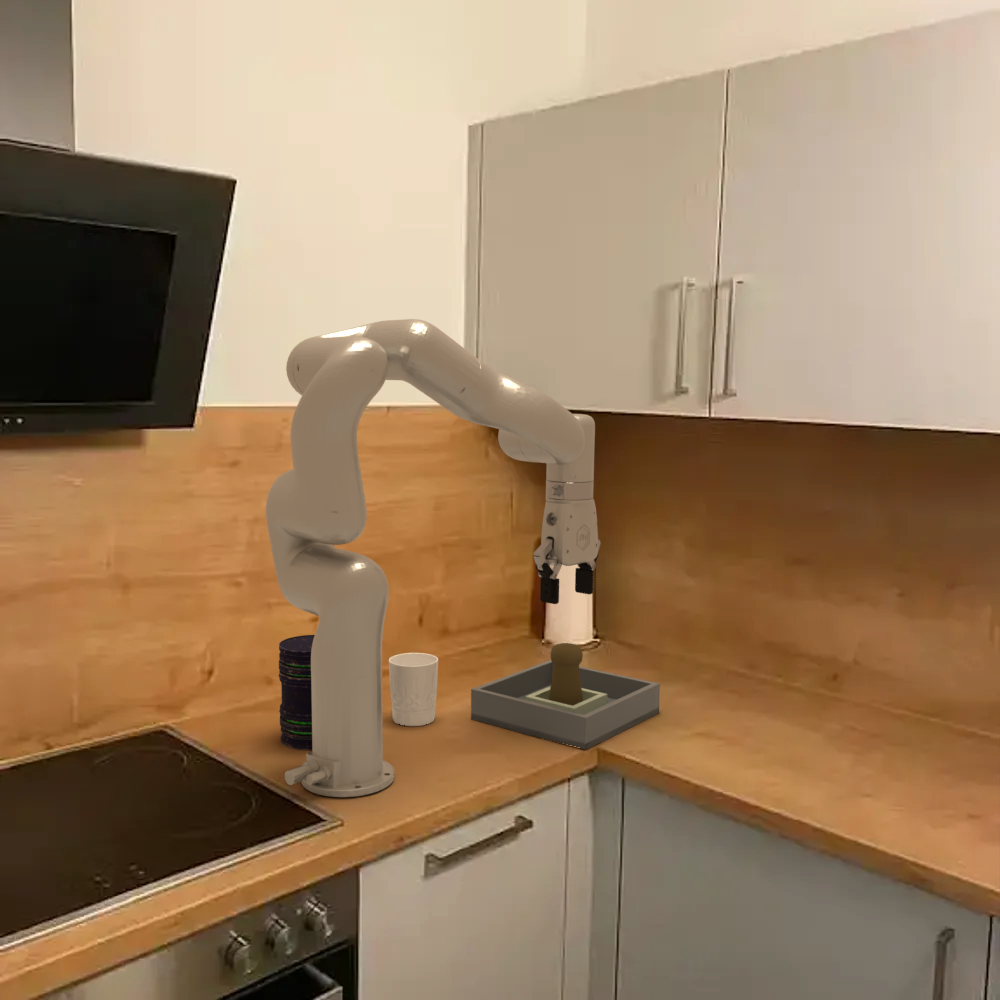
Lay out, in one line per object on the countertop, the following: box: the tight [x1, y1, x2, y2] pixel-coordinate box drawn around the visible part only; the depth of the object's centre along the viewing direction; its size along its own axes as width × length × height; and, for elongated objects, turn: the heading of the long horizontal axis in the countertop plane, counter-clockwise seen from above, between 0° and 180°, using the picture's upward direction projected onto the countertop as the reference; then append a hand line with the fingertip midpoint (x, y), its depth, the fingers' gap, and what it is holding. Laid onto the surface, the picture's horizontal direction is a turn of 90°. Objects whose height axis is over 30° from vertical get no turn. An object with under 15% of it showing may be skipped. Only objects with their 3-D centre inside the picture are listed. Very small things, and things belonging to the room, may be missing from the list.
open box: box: [470, 659, 661, 751], centre depth 170 cm, size 22×22×5 cm
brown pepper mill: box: [549, 642, 584, 706], centre depth 169 cm, size 6×6×11 cm
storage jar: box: [278, 634, 315, 751], centre depth 158 cm, size 10×10×15 cm
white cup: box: [388, 652, 439, 727], centre depth 167 cm, size 8×8×10 cm
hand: (567, 597), depth 167 cm, fingers open, 9 cm apart
